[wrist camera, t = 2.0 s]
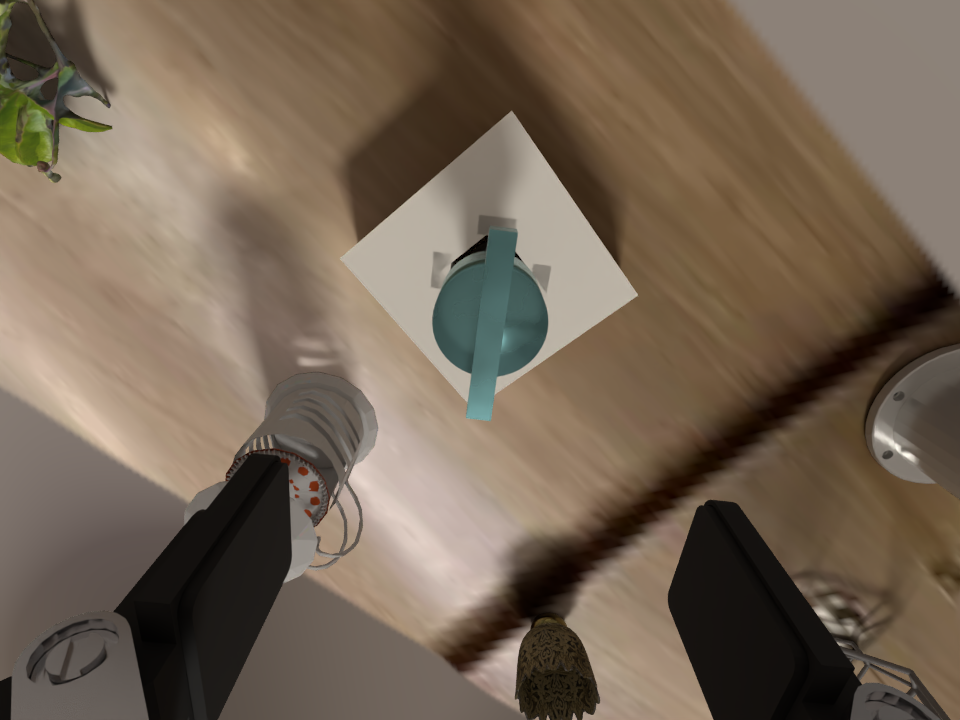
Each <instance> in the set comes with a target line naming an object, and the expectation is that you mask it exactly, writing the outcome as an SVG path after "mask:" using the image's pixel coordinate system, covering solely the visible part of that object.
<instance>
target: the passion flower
mask: <svg viewBox="0 0 960 720" xmlns="http://www.w3.org/2000/svg"><path fill="white" fill-rule="evenodd" d="M16 2H24V3H26V4H28V5H29V7H30V8H31V9H32V11H33V12H34V14H35V16H36V19H37V22H38V24H39V26H40V29H41V30H42V31H43V32H44V34H45V35H46V37H47V39H48V41H49V43H50V44H51V47H52V49H53V50H54V52H55V54H56V62H55V64H54V65H53V66H52V67H50V68H46V67H42V66H39V65H37V64H34V63H32V62H29V61H27V60H23V59H21V58H18V57H15V56H12V55H10V54H7V53H6V52H5V49H6V45H7V40H8V34H9V29H10V27H11V25H12V22H11V19H10V17H9V16H10V13H11V10H12V8H13V5H14V4H15V3H16ZM7 57H10V58H13V59H15V60H17V61H20V62H22V63H24V64H26V65H29V66H31V67H33V68H35V69H36V70H37V71H38V73H39V76H38V77H37V78H35V79H34V80H29V81H22V80H20V79H17V78H16V77H15V76H14V75H13V73H12V71H11V69H10V66H9V63H8V60H7ZM53 78H58V79H59V80H58V87H57V93H56V96H55V98H54V99H53V100H47V99H45V98H44V96H43V94H42V93H41V91H40V89H41V86H42V85H43V83H44V82H46V81H48V80H50V79H53ZM65 95H71V96H73V97H81V96H84V95H85V96H92V97H94V98H96V99H98V100H100V101H101V102H102V103H103V104H104V105H106V106H107V107H108V108H110V106H111V105H110V104H109V103H108V102H107V101H106V100H104V99H103V97H102V96H101V95H100V94H99V93H97V92H96V91H95V90H94V89H93V88H92V87H91V86H90V85H89V84H88V83H87V82H86V81H85V80H84V79H83V78H82V77H81V76H80V74H79V72H78V70H77V68H76V66H75V64H74V63H73V62H71V61H69V60H68V59H67V58H66V57H65V56H64V55H63V54H62V53H61V51H60V49H59V47H58V45H57V44H56V42H55V40H54V38H53V37H52V35H51V33H50V31H49V30H48V28H47V26H46V24H45V22H44V20H43V18H42V16H41V14H40V11H39V9H38V7H37V5H36V4H35V3H34V1H33V0H0V153H1V154H2V155H3V156H5V157H6V158H7V159H9V160H11V161H12V162H13V163H19V164H22V165H27V166H29V167H33V166H37V167H38V171H39V172H42V173H43V174H44V175H45V176H47V177H48V179H49V180H50V181H51V182H53V183H57V182H58V181H59V180H60V179H61V176H60V175H59V174H56V173H53V172H52V171H51V169H52V168H53V167H54V166H55V165H56V163H57V160H58V144H59V123H60V124H62V125H64V126H67V127H71V128H76V129H79V130H82V131H86V132H103V131H106V130H110V129H112V126H109V125H105V124H102V123H98V122H94V121H91V120H88V119H85V118H82V117H80V116H78V115H76V114H75V113H73V112H72V111H71V110H70V109H68V108H67V107H66V106H65V104H64V102H63V97H64V96H65ZM51 120H54V123H53V125H52V123H51ZM49 161H52V165H51V167H50V165H49V164H48V163H47V162H49Z"/></svg>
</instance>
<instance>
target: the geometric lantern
mask: <svg viewBox="0 0 960 720" xmlns="http://www.w3.org/2000/svg"><path fill="white" fill-rule="evenodd" d="M833 638H834V640H835V641H836V642H840V643H845V644H849V645H852V646H853V647H854V649H855V650H851V649H848V648H845V647H842V646H839V647H840V648H841V649H842V651H843V652H844V654H845V655H846V656H847V657H848V659H849V661H850V662H851V661H852V660H853V659H856V660H861V661H863V662H864V664H865V665H864V667H863V668H862V670H861V671H860V673H859V674H858V676H857V678H858V679H859V681H860V680H861V678H862V677H863V676H864V674H865V673H866V671H867V670H868V668H869V667H871V668H873V669H875V670H877V671H879V672H881V673H883V674H885V675H887V676H889V677H891V678H893V679H895V680H897V681H899V682H901V683H903V684H905V685H907V686H909V687H911V689H910V690H909V691H908V692H907V693H906V694H908V695H909V696H911V697H912V698H913V697H914V696H915V695H917V696H918V697H919V699H920V700H921V702H922V703H923V704H924V706H926V707H927V708H928V709H929V710H930V711H931V712H933V713H934V714H935V715H936V716H937V717H938V718H939V719H940V720H950V718H949V717H948V716H947V715H946V713H945V712H944V711H943V709H942V708H941V707H940V706H939V704H938V703H937V702H936V700H935V699H934V698H933V696H932V695H931V694H930V693H929V691H928V690H927V689H926V687H925V686H924V685H923V683H922V682H921V681H920V680H919V678H918V677H917V676H916V674H915V673H914V671H913V670H911V669H908V668H905V667H902V666H899V665H896V664H893V663H890V662H887V661H884V660H881V659H878V658H875V657H872V656H869V655H866V654H863V652H862V651H861V650H860V649H859V648H858V646H857V645H856V644H855V643H854V642H853V641H848V640H844V639H840V638H835V637H833ZM871 663H873V664H876V665H879V666H883V667H886V668H889V669H892V670H895V671H898V672H901V673H904V674H908V675H909V677H910V680H911V683H910V682H908V681H906V680H904V679H902V678H900V677H898V676H896V675H894V674H892V673H889V672H887V671H885V670H883V669H881V668H879V667H877V666H875V665H873V664H871ZM935 710H936V711H935ZM938 714H939V715H938ZM941 718H942V719H941Z"/></svg>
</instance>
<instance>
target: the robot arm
mask: <svg viewBox="0 0 960 720" xmlns="http://www.w3.org/2000/svg"><path fill="white" fill-rule="evenodd" d="M865 437H866V442H867V447H868V449H869V451H870V453H871V455H872V457H873V458H874V459H875V460H876V461H877V462H878V463H879V464H880V465H881V466H882V467H883V468H885V469H886V470H887V471H889V472H890V473H891V474H893V475H895V476H897V477H899V478H901V479H903V480H907V481H910V482H914V483H925V484H932V483H938V484H939V485H940V486H942V487H943V488H944V489H946V490H947V491H948V492H950V493H951V494H953V495H954V496H955V497H957V498H958V499H959V500H960V344H956V345H951V346H947V347H943V348H940V349H937V350H935V351H932V352H930V353H927V354H925V355H923V356H921V357H920V358H918V359H916V360H914V361H913V362H911V363H909V364H908V365H907V366H905V367H904V368H903V369H901V370H900V371H899V372H898V373H896V374H895V375H894V376H893V377H892V378H891V379H890V380H889V381H888V382H887V383H886V384H885V386H884V387H883V388H882V390H881V391H880V392H879V394H878V395H877V397H876V398H875V400H874V402H873V404H872V406H871V408H870V410H869V414H868V417H867V421H866V430H865ZM291 561H292V540H291V516H290V491H289V468H288V464H287V463H282V462H281V459H280V457H279V456H278V455H269V454H259V453H252V454H250V455H249V456H248V458H247V459H246V460H245V461H244V463H243V464H242V465H241V466H240V468H239V469H238V470H237V471H236V473H235V474H234V475H233V476H232V478H231V479H230V480H229V481H228V483H227V484H226V485H225V486H224V488H223V489H222V490H221V492H220V493H219V494H218V495H217V497H216V498H215V499H214V500H213V502H212V503H211V504H210V505H209V507H208V508H207V509H206V510H205V509H201V510H199V511H197V512H196V513H195V514H194V515H193V516H192V517H191V518H190V519H189V520H188V522H187V523H186V524H185V525H184V526H183V528H182V529H181V530H180V531H179V533H178V534H177V535H176V536H175V537H174V539H173V540H172V541H171V542H170V543H169V545H168V546H167V547H166V548H165V550H164V551H163V552H162V553H161V555H160V556H159V557H158V558H157V559H156V561H155V562H154V563H153V564H152V565H151V567H150V568H149V569H148V570H147V571H146V573H145V574H144V575H143V576H142V578H141V579H140V580H139V581H138V582H137V584H136V585H135V586H134V587H133V589H132V590H131V591H130V592H129V593H128V595H127V596H126V597H125V598H124V600H123V601H122V602H121V603H120V604H119V606H118V607H117V608H116V609H115V610H114V612H108V611H96V612H87V613H84V614H80V615H77V616H74V617H70V618H69V619H66V620H64V621H62V622H60V623H58V624H55V625H54V626H52V627H51V628H49V629H48V630H46V631H45V632H43V633H42V634H40V635H39V636H38V637H37V638H35V640H33V641H32V642H31V643H30V644H29V645H28V646H27V647H26V648H25V649H24V650H23V652H22V653H21V655H20V656H19V658H18V660H17V661H16V663H15V666H14V670H13V674H12V676H11V677H8V678H6V679H4V680H2V681H0V720H217V719H218V718H219V716H220V713H221V711H222V709H223V707H224V705H225V703H226V701H227V699H228V697H229V695H230V692H231V691H232V689H233V687H234V684H235V682H236V680H237V678H238V676H239V674H240V672H241V670H242V668H243V666H244V664H245V662H246V659H247V657H248V655H249V653H250V651H251V649H252V647H253V645H254V643H255V641H256V639H257V637H258V634H259V632H260V630H261V628H262V626H263V624H264V622H265V620H266V618H267V616H268V614H269V612H270V609H271V607H272V605H273V603H274V601H275V599H276V597H277V595H278V593H279V591H280V589H281V587H282V584H283V582H284V580H285V578H286V576H287V574H288V572H289V569H290V566H291ZM668 605H669V609H670V612H671V614H672V617H673V619H674V622H675V624H676V627H677V629H678V632H679V634H680V637H681V639H682V642H683V644H684V647H685V649H686V652H687V654H688V657H689V659H690V662H691V664H692V667H693V669H694V672H695V674H696V677H697V679H698V682H699V684H700V687H701V689H702V692H703V694H704V697H705V699H706V702H707V704H708V707H709V709H710V712H711V714H712V717H713V719H714V720H940V719H939V718H938V717H937V716H936V715H935V714H934V713H933V712H931V711H930V710H929V709H928V708H927V707H926V706H924V705H923V704H922V703H920V702H919V701H917V700H916V699H914V698H912V697H911V696H909V695H908V694H906V693H904V692H902V691H900V690H898V689H896V688H893V687H891V686H887V685H884V684H880V683H865V684H863V685H862V684H861V682H860V681H859V679H858V678H857V677H856V675H855V674H854V672H853V671H854V669H855V667H854V666H853V665H852V663H851V662H850V661H849V659H848V658H847V656H846V655H845V654H844V652H843V651H842V649H841V648H840V647H839V645H838V644H837V642H836V641H835V640H834V638H833V637H832V635H831V634H830V633H829V631H828V630H827V628H826V627H825V626H824V624H823V623H822V621H821V620H820V619H819V617H818V616H817V614H816V613H815V612H814V610H813V609H812V607H811V606H810V605H809V603H808V602H807V600H806V599H805V598H804V596H803V595H802V593H801V592H800V591H799V589H798V588H797V586H796V585H795V584H794V582H793V581H792V579H791V578H790V577H789V575H788V574H787V572H786V571H785V570H784V568H783V567H782V565H781V564H780V563H779V561H778V560H777V558H776V557H775V556H774V554H773V553H772V551H771V550H770V549H769V547H768V546H767V544H766V543H765V542H764V540H763V539H762V537H761V536H760V535H759V533H758V532H757V530H756V529H755V528H754V526H753V525H752V523H751V522H750V521H749V519H748V518H747V517H746V515H745V514H744V512H743V511H742V510H741V508H740V507H739V506H738V505H737V504H736V503H734V502H727V501H717V500H708V501H707V502H706V503H705V504H704V506H703V505H701V506H699V507H698V508H697V510H696V513H695V516H694V519H693V521H692V524H691V527H690V530H689V533H688V536H687V539H686V542H685V545H684V548H683V551H682V554H681V557H680V560H679V563H678V565H677V568H676V571H675V574H674V577H673V580H672V583H671V586H670V589H669V593H668Z"/></svg>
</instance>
